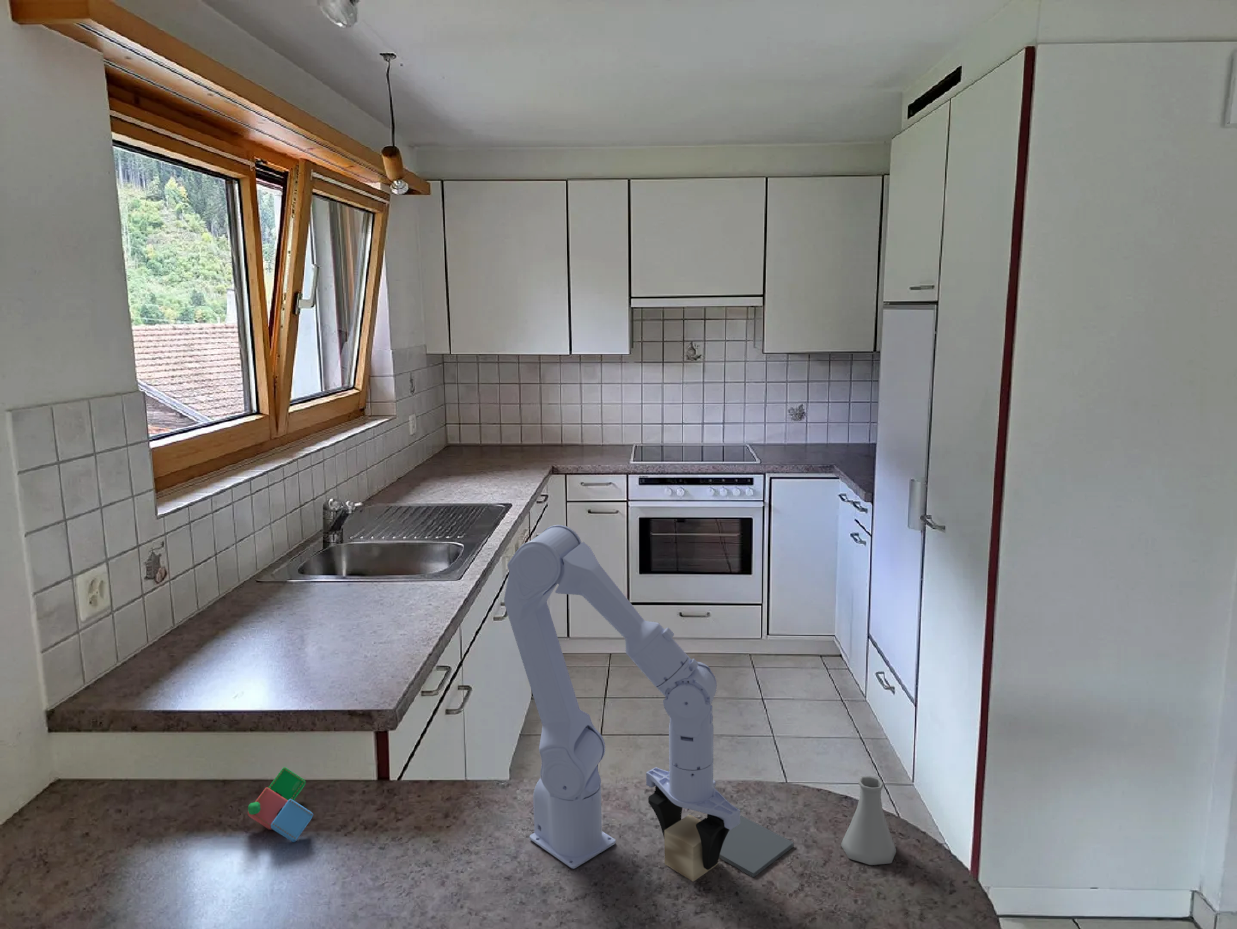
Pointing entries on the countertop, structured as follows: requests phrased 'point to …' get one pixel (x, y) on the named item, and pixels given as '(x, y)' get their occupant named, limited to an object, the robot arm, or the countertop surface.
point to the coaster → (753, 847)
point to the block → (684, 848)
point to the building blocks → (282, 806)
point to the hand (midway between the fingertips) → (691, 854)
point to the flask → (869, 827)
